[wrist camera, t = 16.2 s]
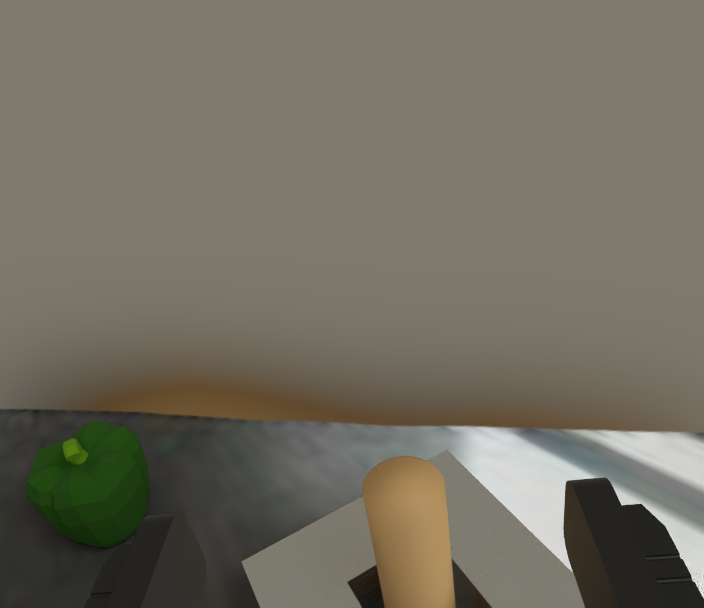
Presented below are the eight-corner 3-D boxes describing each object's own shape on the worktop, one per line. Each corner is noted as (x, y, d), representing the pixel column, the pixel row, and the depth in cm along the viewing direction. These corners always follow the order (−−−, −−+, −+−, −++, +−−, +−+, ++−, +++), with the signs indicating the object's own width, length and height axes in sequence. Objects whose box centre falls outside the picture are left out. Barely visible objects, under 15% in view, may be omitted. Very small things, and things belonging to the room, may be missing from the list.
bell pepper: (75, 495, 49) (26, 409, 44) (168, 472, 50) (129, 385, 45) (48, 580, 42) (-15, 489, 37) (157, 552, 43) (109, 459, 38)
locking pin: (433, 602, 36) (414, 444, 29) (473, 656, 33) (462, 494, 26) (381, 636, 35) (348, 479, 28) (417, 696, 31) (390, 536, 24)
